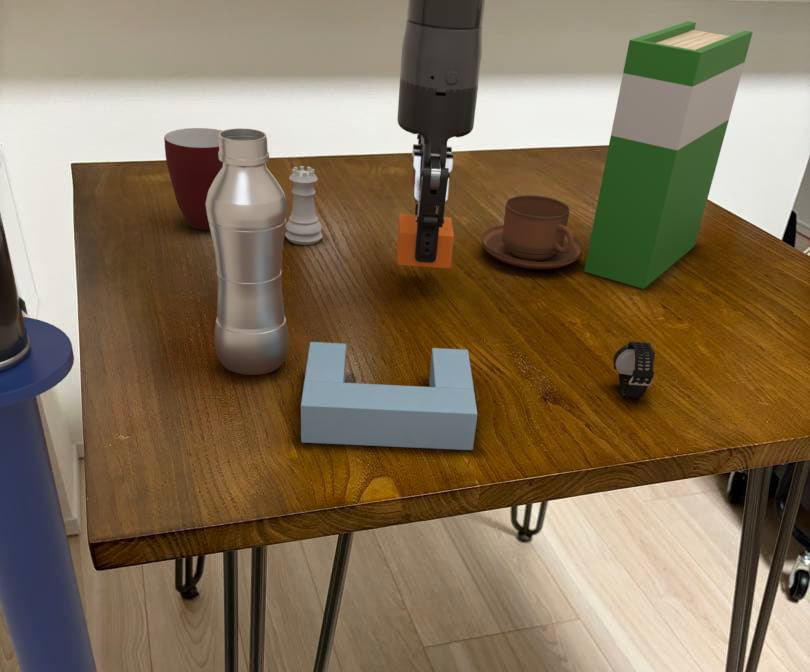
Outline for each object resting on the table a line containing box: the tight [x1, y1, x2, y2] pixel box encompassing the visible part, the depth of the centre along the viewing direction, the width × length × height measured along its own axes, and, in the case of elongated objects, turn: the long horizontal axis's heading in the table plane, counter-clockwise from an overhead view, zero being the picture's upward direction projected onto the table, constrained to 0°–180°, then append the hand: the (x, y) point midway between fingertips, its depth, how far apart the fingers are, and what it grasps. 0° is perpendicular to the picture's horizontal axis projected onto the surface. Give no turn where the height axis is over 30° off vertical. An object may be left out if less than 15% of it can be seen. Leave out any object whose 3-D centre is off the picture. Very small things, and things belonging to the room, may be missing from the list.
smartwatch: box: [612, 341, 656, 399], centre depth 81 cm, size 4×5×5 cm
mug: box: [163, 127, 223, 231], centre depth 106 cm, size 11×8×10 cm
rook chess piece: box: [284, 165, 323, 246], centre depth 104 cm, size 4×4×8 cm
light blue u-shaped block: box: [300, 341, 478, 451], centre depth 76 cm, size 14×11×4 cm
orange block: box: [396, 213, 455, 269], centre depth 95 cm, size 6×6×4 cm
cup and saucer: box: [481, 194, 584, 270], centre depth 105 cm, size 12×12×6 cm
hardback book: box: [583, 21, 754, 290], centre depth 102 cm, size 18×7×24 cm, turn 147°
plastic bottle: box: [205, 127, 290, 376], centre depth 76 cm, size 6×7×20 cm
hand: (424, 249), depth 96 cm, fingers closed on orange block, 5 cm apart
